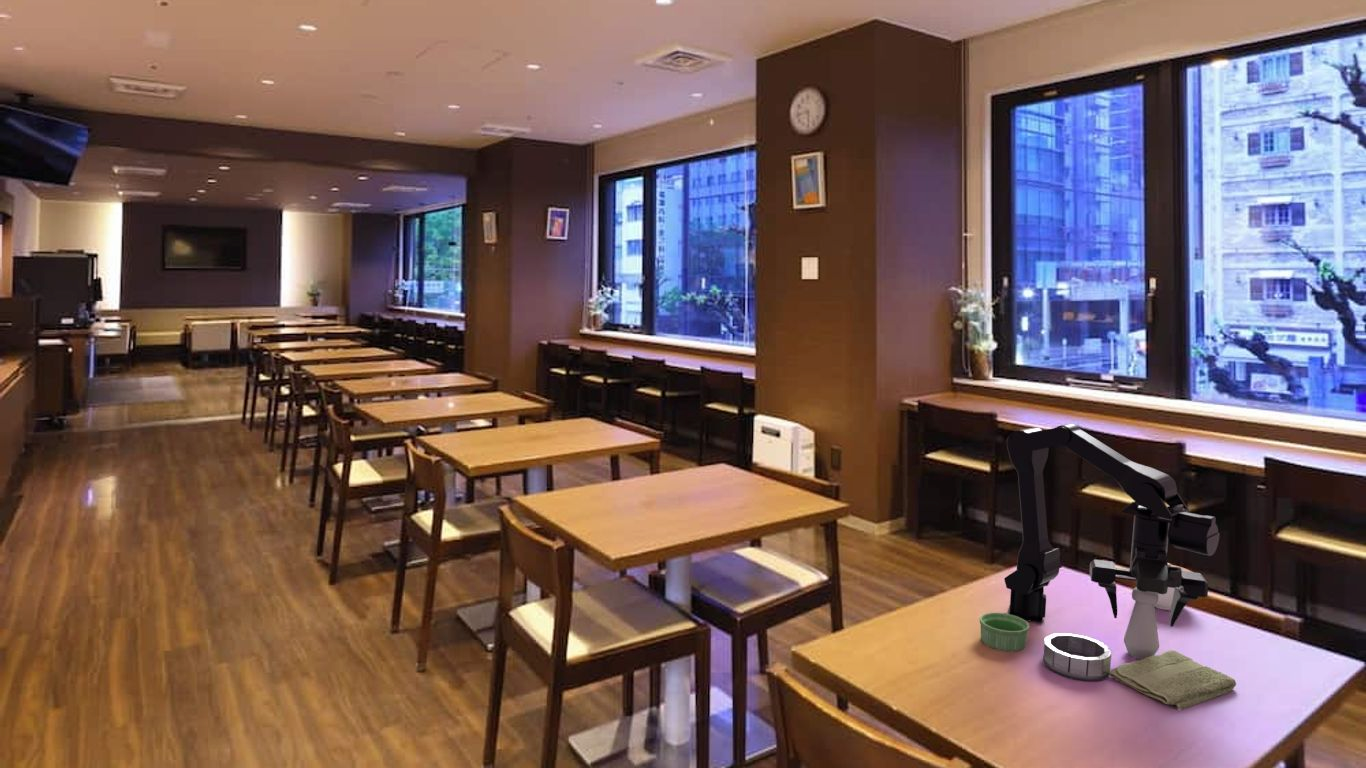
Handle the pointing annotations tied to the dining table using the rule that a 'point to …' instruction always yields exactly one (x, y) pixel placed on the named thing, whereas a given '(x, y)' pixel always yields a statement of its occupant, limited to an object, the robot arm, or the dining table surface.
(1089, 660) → the faceted metal bowl
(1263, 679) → the dining table surface
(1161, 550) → the robot arm
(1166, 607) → the lidded jar
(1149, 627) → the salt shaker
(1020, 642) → the ramekin
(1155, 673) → the washcloth
